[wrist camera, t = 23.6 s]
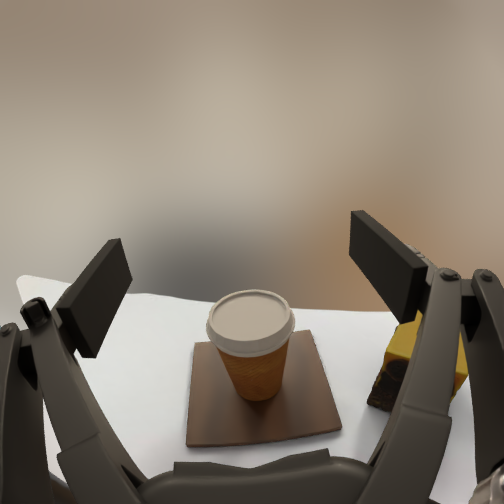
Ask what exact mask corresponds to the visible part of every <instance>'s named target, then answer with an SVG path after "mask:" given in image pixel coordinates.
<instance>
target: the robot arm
mask: <svg viewBox="0 0 504 504" xmlns="http://www.w3.org/2000/svg"><path fill="white" fill-rule="evenodd" d="M349 255H350V257H351V258H352V259H353V261H354V262H355V263H356V264H357V265H358V267H359V268H360V269H361V271H362V272H363V274H364V275H365V276H366V278H367V279H368V280H369V281H370V283H371V284H372V285H373V287H374V288H375V289H376V291H377V292H378V294H379V295H380V296H381V298H382V299H383V300H384V302H385V303H386V305H387V306H388V307H389V309H390V310H391V312H392V313H393V315H394V316H395V317H396V319H397V320H398V322H399V323H400V325H401V324H405V323H409V322H413V321H415V318H416V315H417V311H418V310H419V311H420V313H421V314H422V318H421V322H420V325H419V328H418V331H417V334H416V335H417V337H416V341H415V345H414V348H413V352H412V355H411V358H410V362H409V365H408V368H407V371H406V374H405V377H404V380H403V383H402V386H401V389H400V391H399V394H398V397H397V399H396V402H395V405H394V407H393V410H392V412H391V415H390V417H389V420H388V422H387V424H386V427H385V429H384V431H383V433H382V436H381V438H380V440H379V442H378V444H377V446H376V448H375V450H374V452H373V454H372V456H371V457H370V459H369V461H368V463H367V464H366V463H363V462H361V461H358V460H355V459H350V458H345V457H336V456H330V454H329V450H328V448H326V449H322V450H317V451H312V452H306V453H301V454H295V455H290V456H287V457H284V458H282V459H279V460H276V461H273V462H270V463H267V464H265V465H262V466H258V467H255V468H241V467H235V466H229V465H223V464H217V463H212V462H174V470H173V471H169V472H165V473H162V474H159V475H157V476H155V477H153V478H151V479H149V480H148V479H147V478H146V477H145V476H144V475H143V473H142V472H141V471H140V470H139V469H138V467H137V466H136V464H135V463H134V462H133V460H132V459H131V457H130V456H129V454H128V453H127V451H126V450H125V448H124V447H123V445H122V444H121V442H120V440H119V439H118V437H117V436H116V434H115V432H114V431H113V429H112V427H111V426H110V424H109V422H108V421H107V419H106V417H105V415H104V414H103V412H102V410H101V408H100V406H99V404H98V403H97V401H96V399H95V397H94V395H93V393H92V391H91V389H90V387H89V385H88V383H87V381H86V379H85V377H84V374H83V372H82V370H81V368H80V366H79V363H78V361H77V359H76V358H75V356H74V352H75V350H76V348H77V350H78V351H79V353H80V355H81V357H82V358H96V357H97V354H98V352H99V350H100V347H101V345H102V343H103V341H104V338H105V336H106V334H107V332H108V329H109V327H110V325H111V323H112V321H113V319H114V316H115V314H116V312H117V310H118V308H119V306H120V304H121V302H122V300H123V298H124V296H125V294H126V292H127V289H128V288H129V286H130V284H131V282H132V276H131V273H130V270H129V267H128V263H127V260H126V257H125V253H124V250H123V246H122V243H121V239H120V238H118V239H111V240H108V242H107V243H106V244H105V245H104V246H103V247H102V249H101V250H100V251H99V252H98V253H97V255H96V256H95V257H94V258H93V259H92V261H91V262H90V263H89V264H88V266H87V267H86V268H85V269H84V271H83V272H82V273H81V274H80V276H79V277H78V278H77V280H76V281H75V282H74V283H73V284H72V285H71V286H69V287H68V288H67V289H66V290H65V292H64V293H63V294H62V295H63V296H61V297H60V299H59V301H57V303H56V304H55V305H54V307H53V308H52V310H51V311H50V310H49V308H48V306H47V304H46V302H45V300H44V298H42V297H37V298H34V299H31V300H30V301H28V302H26V303H25V304H24V305H23V306H22V308H21V310H20V313H21V315H22V317H23V319H24V321H25V322H26V324H27V326H28V328H29V329H26V330H22V331H20V330H19V328H18V326H17V325H16V323H8V324H6V325H4V326H3V327H1V326H0V504H55V503H54V498H53V493H52V488H51V482H50V476H49V470H48V463H47V455H46V446H45V435H44V420H43V399H44V402H45V405H46V409H47V412H48V415H49V418H50V421H51V424H52V427H53V430H54V432H55V435H56V438H57V440H58V443H59V446H60V448H61V452H60V453H58V454H57V460H58V464H59V466H60V468H61V471H62V473H63V475H64V477H65V479H66V482H67V484H68V486H69V488H70V490H71V492H72V494H73V496H74V498H75V500H76V502H77V504H440V503H438V502H436V501H434V500H431V499H429V496H430V493H431V491H432V488H433V485H434V483H435V480H436V477H437V474H438V471H439V468H440V465H441V462H442V459H443V456H444V452H445V449H446V445H447V442H448V438H449V434H450V430H451V425H452V417H449V416H448V410H449V406H450V401H451V396H452V390H453V385H454V379H455V372H456V365H457V357H458V348H459V337H460V333H461V337H462V342H463V347H464V352H465V357H466V362H467V368H468V374H469V381H470V388H471V396H472V405H473V416H474V431H475V466H476V477H477V484H478V485H477V486H476V488H475V490H474V493H473V496H472V497H471V499H470V500H469V504H504V288H503V287H502V285H501V283H500V281H499V279H498V277H497V276H496V275H495V274H494V273H492V272H491V271H488V270H487V269H477V270H475V272H474V274H473V278H472V279H461V276H460V275H459V274H458V273H457V272H455V271H454V270H451V269H448V268H437V267H436V266H435V265H434V264H433V263H432V262H431V261H430V260H429V259H427V258H425V256H424V255H423V254H421V253H420V252H419V251H418V250H417V249H416V248H414V247H412V246H410V245H408V244H404V243H402V242H401V241H400V240H399V239H398V238H396V237H395V236H394V235H393V234H392V233H391V232H389V231H388V230H387V229H386V228H384V227H383V226H382V225H381V224H380V223H378V222H377V221H376V220H375V219H374V218H372V217H371V216H370V215H368V214H367V213H366V212H365V211H363V210H362V211H361V210H360V211H351V228H350V247H349Z"/></svg>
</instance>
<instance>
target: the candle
mask: <svg viewBox="0 0 504 504" xmlns="http://www.w3.org/2000/svg"><path fill="white" fill-rule="evenodd" d="M421 318H422V314H421V313H420V311H419V310H418V311H417V315H416V318H415V321H413V322H409V323H405V324H401V325H400V323H399V325H398V326H397V327H396V329H395V333H394V335H393V337H392V339H391V341H390V343H389V345H388V347H387V348H386V352H385V355H384V362H383V366H382V368H381V370H380V372H379V374H378V376H377V378H376V381H375V382H374V385H373V387H372V391H371V393H370V395H369V397H368V399H367V404H368V405H373V406H374V407H377V408H381V409H382V410H384V411H388V412H392V410H393V407H394V405H395V402H396V399H397V397H398V394H399V391H400V389H401V386H402V383H403V380H404V377H405V374H406V371H407V368H408V365H409V362H410V358H411V355H412V352H413V348H414V345H415V341H416V337H417V335H416V334H417V331H418V328H419V325H420V322H421ZM467 376H468V368H467V362H466V357H465V352H464V347H463V342H462V337H461V333H460V337H459V348H458V357H457V365H456V372H455V379H454V385H453V390H452V396H451V401H452V399H453V398H454V397H455V395H456V392H457V390H459V389H460V387H461V385H462V384H463V382H464V381H465V380H466V378H467ZM451 401H450V403H451Z"/></svg>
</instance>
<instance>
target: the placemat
mask: <svg viewBox="0 0 504 504" xmlns="http://www.w3.org/2000/svg"><path fill="white" fill-rule="evenodd" d="M341 429H342V424H341V421H340V418H339V415H338V412H337V409H336V405H335V402H334V399H333V396H332V393H331V390H330V387H329V384H328V381H327V378H326V375H325V372H324V369H323V366H322V363H321V360H320V357H319V354H318V351H317V349H316V346H315V343H314V340H313V337H312V334H311V331H310V330H303V331H297V332H292V334H291V335H290V338H289V344H288V350H287V356H286V363H285V368H284V374H283V379H282V386H281V388H280V390H279V391H278V392H277V393H276V394H275V395H274V396H272V397H271V398H269V399H266V400H262V401H251V400H248V399H245V398H243V397H241V396H240V395H239V394H238V393H237V392H236V390H235V388H234V385H233V383H232V381H231V379H230V377H229V375H228V372H227V370H226V368H225V366H224V363H223V361H222V359H221V357H220V355H219V352H218V350H217V348H216V346H215V345H214V344H213V343H212V342H198V343H195V346H194V356H193V365H192V375H191V385H190V396H189V408H188V420H187V434H186V446H187V447H220V446H237V445H250V444H260V443H269V442H277V441H284V440H290V439H297V438H302V437H308V436H313V435H318V434H323V433H328V432H332V431H337V430H341Z"/></svg>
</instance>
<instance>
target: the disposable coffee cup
mask: <svg viewBox="0 0 504 504" xmlns="http://www.w3.org/2000/svg"><path fill="white" fill-rule="evenodd" d="M294 327H295V318H294V314H293V312H292V310H291V309H290V307H289V305H288V303H287V302H286V301H285V299H283V298H282V297H281V296H279V295H277V294H275V293H272V292H269V291H264V290H245V291H240V292H235V293H232V294H229V295H227V296H225V297H223V298H222V299H220V300H219V301H218V302H216V303H215V304H214V306H213V307H212V308H211V310H210V312H209V318H208V320H207V323H206V332H207V335H208V337H209V339H210V340H211V342H212V343H213V344H214V345H215V346H216V348H217V350H218V352H219V355H220V357H221V359H222V361H223V363H224V366H225V368H226V370H227V372H228V375H229V377H230V379H231V381H232V383H233V385H234V388H235V390H236V392H237V393H238V394H239V395H240V396H241V397H243V398H245V399H248V400H251V401H262V400H266V399H269V398H271V397H272V396H274V395H275V394H276V393H277V392H278V391H279V390H280V388H281V386H282V379H283V374H284V368H285V363H286V356H287V350H288V344H289V338H290V335H291V334H292V332H293V330H294Z"/></svg>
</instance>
